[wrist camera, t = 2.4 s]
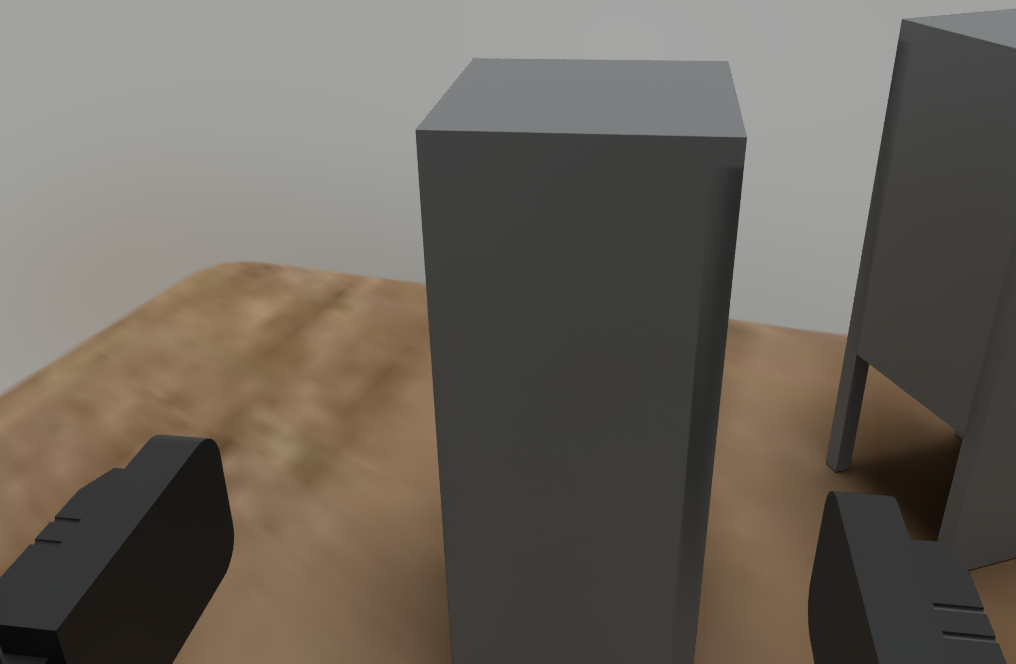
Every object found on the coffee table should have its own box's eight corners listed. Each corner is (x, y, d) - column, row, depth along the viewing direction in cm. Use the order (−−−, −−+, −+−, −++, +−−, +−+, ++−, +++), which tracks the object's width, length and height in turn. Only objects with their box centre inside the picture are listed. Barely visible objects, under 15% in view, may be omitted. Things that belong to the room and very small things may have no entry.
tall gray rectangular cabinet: (967, 430, 37) (1076, 3, 29) (1104, 533, 32) (1280, 42, 24) (826, 462, 35) (902, 18, 28) (943, 576, 30) (1078, 64, 22)
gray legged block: (684, 557, 31) (728, 61, 23) (687, 719, 25) (746, 137, 18) (491, 541, 32) (473, 58, 24) (454, 694, 26) (415, 129, 19)
